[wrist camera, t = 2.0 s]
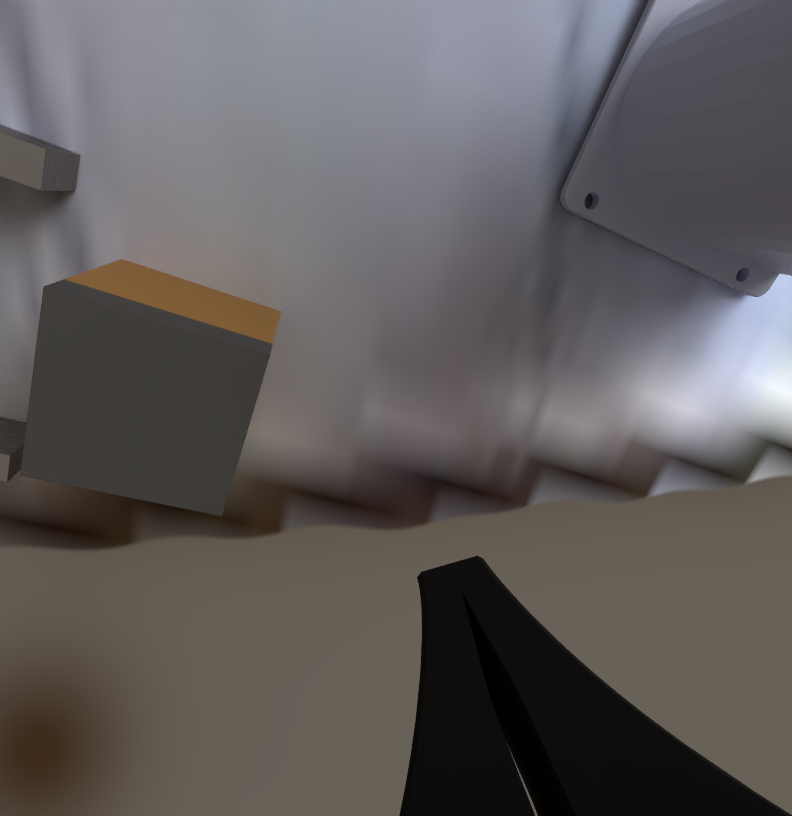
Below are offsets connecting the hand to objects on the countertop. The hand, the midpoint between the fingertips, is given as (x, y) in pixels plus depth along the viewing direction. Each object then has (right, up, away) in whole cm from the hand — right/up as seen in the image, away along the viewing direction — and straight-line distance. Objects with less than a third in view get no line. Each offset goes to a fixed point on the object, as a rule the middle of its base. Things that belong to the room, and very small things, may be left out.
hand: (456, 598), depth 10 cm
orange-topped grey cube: (-8, +6, +6) cm, 12 cm away
